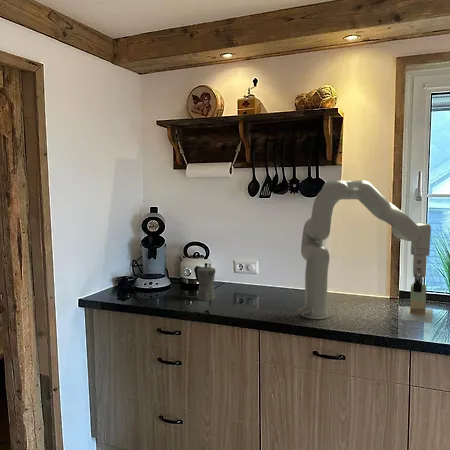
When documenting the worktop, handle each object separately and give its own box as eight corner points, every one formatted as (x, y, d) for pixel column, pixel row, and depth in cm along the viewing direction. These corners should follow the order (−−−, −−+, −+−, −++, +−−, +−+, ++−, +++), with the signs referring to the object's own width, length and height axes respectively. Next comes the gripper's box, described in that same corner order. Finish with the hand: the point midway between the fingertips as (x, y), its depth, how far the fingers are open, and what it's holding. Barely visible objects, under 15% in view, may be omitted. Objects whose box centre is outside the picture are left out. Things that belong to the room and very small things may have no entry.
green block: (425, 301, 192) (425, 287, 191) (410, 299, 194) (410, 286, 194) (425, 298, 197) (426, 285, 197) (411, 296, 200) (411, 283, 199)
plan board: (432, 324, 181) (432, 323, 181) (400, 320, 186) (400, 319, 186) (432, 310, 201) (432, 309, 201) (404, 307, 206) (404, 306, 206)
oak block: (424, 315, 192) (425, 301, 192) (409, 313, 195) (410, 299, 194) (425, 311, 198) (425, 298, 197) (410, 309, 200) (411, 296, 200)
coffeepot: (221, 299, 220) (222, 263, 218) (207, 302, 214) (207, 266, 212) (201, 293, 231) (201, 259, 230) (187, 296, 225) (187, 261, 223)
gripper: (429, 254, 184) (426, 295, 186) (429, 249, 200) (427, 286, 201) (409, 253, 188) (407, 292, 189) (411, 248, 203) (409, 284, 205)
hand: (417, 289), depth 195 cm, fingers open, 9 cm apart
